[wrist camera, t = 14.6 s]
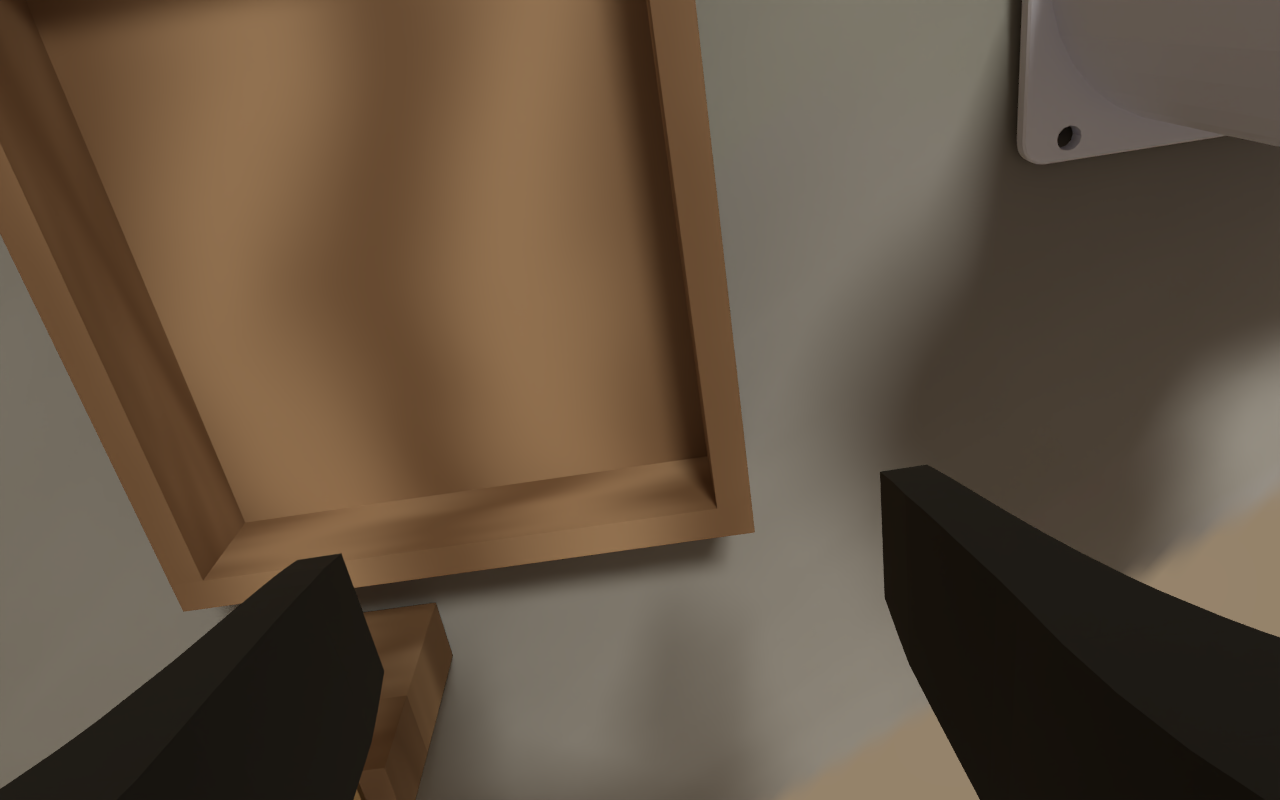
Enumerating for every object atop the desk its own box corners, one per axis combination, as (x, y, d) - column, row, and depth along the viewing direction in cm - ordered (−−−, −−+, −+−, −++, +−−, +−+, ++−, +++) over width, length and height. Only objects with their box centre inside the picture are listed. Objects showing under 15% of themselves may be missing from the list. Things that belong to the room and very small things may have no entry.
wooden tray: (652, -263, 16) (668, -398, 11) (755, 614, 25) (792, 779, 19) (-57, -133, 16) (-376, -198, 11) (293, 676, 25) (208, 852, 20)
